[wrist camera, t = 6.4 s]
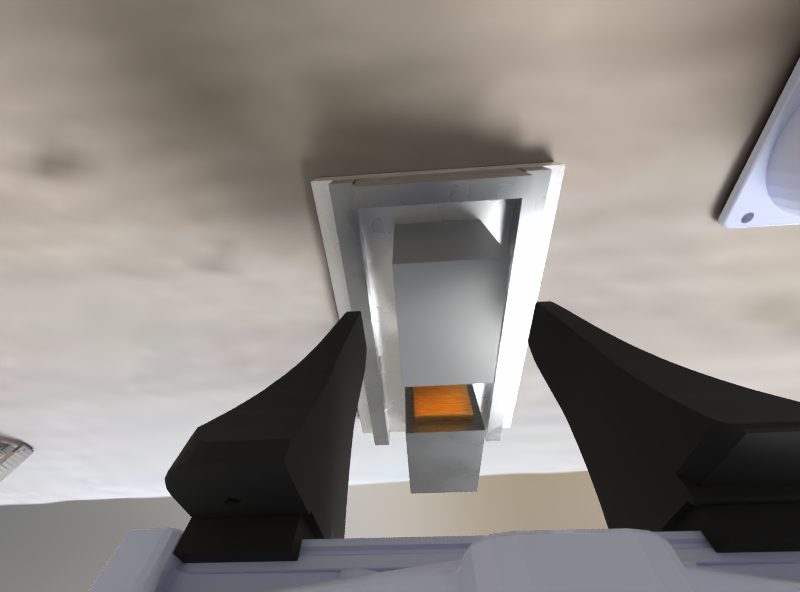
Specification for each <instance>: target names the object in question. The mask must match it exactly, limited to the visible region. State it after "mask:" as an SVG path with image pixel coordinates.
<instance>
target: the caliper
mask: <svg viewBox="0 0 800 592" xmlns="http://www.w3.org/2000/svg"><path fill="white" fill-rule="evenodd" d="M33 451H34V450H32V449H31V448H29V447H28V446H26V445H25V444H23V443H22V444H20V445H19V446H18V447H16V448H15V447H13V446H11V445H5V446H3V447H2V448H0V482H1V481H2V480H3V479H4V478H5V477H6V476H7V475H9V474H10V473H11V472H12V471H13V470H14V469H15V468H16V467H18V466H19V465H20V464H21V463H22V462H23V461H24V460H25V459H26V458H27V457H29V456H30V455H31V454H32V453H33Z"/></svg>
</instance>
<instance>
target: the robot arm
mask: <svg viewBox="0 0 800 592" xmlns="http://www.w3.org/2000/svg"><path fill="white" fill-rule="evenodd" d="M744 215H745V216H744ZM743 216H744V217H743ZM742 217H743V218H742ZM718 223H719V225H720V226H723V227H726V228H744V227H761V226H778V225H795V224H800V58H799V60H798V62H797V64H796V66H795V68H794V70H793V72H792V74H791V76H790V78H789V80H788V82H787V84H786V86H785V88H784V90H783V92H782V94H781V96H780V98H779V100H778V102H777V104H776V106H775V107H774V109H773V111H772V113H771V115H770V117H769V119H768V121H767V123H766V125H765V127H764V129H763V131H762V133H761V135H760V137H759V139H758V141H757V143H756V145H755V147H754V149H753V151H752V153H751V155H750V157H749V159H748V161H747V163H746V165H745V167H744V169H743V171H742V173H741V175H740V177H739V179H738V181H737V183H736V185H735V187H734V189H733V191H732V193H731V195H730V197H729V199H728V201H727V203H726V205H725V207H724V209H723V211H722V213H721V215H720V217H719V220H718ZM527 342H528V344H529V347H530V350H531V353H532V355H533V358H534V360H535V362H536V364H537V366H538V368H539V370H540V372H541V374H542V375H543V377H544V379H545V381H546V382H547V384H548V386H549V388H550V390H551V391H552V393H553V395H554V397H555V398H556V400H557V402H558V404H559V405H560V407H561V409H562V411H563V413H564V415H565V417H566V419H567V421H568V423H569V425H570V428H571V430H572V432H573V435H574V437H575V439H576V442H577V444H578V446H579V449H580V451H581V454H582V456H583V459H584V461H585V464H586V466H587V469H588V472H589V474H590V477H591V480H592V482H593V485H594V488H595V490H596V493H597V496H598V499H599V502H600V504H601V507H602V511H603V513H604V516H605V520H606V523H607V526H608V529H581V530H580V529H578V530H534V531H510V532H503V533H495V534H490V535H488V536H443V537H398V538H355V539H354V538H352V539H344V533H345V518H346V504H347V492H348V480H349V468H350V458H351V448H352V438H353V429H354V422H355V416H356V412H357V407H358V402H359V397H360V393H361V388H362V383H363V378H364V373H365V366H366V354H367V346H366V340H365V333H364V327H363V321H362V314H361V311H349V312H346V313H345V314H344V315H343V316H342V317H341V319H340V320H339V321H338V322H337V323H336V325H335V326H334V327H333V328H332V329H331V331H330V332H329V333H328V334H327V335H326V336H325V337H324V339H323V340H322V341H321V342H320V343H319V344H318V345H317V346H316V347H315V348H314V349H313V350H312V351H311V352H310V353H309V354H308V355H307V356H306V357H305V358H304V359H303V360H302V361H301V362H300V363H299V364H297V365H296V366H295V367H294V368H293V369H291V370H290V371H289V372H288V373H286V374H285V375H284V376H283V377H281V378H280V379H278V380H277V381H276V382H274V383H273V384H271V385H270V386H269V387H267V388H266V389H265V390H263V391H262V392H260V393H258V394H257V395H255V396H254V397H252V398H251V399H249V400H247V401H246V402H244V403H242V404H241V405H239V406H237V407H236V408H234V409H232V410H230V411H228V412H227V413H225V414H223V415H221V416H219V417H217V418H215V419H213V420H211V421H209V422H208V423H206V424H204V425H202V426H200V427H198V428H197V429H196V431H195V432H194V433H193V435H192V436H191V438H190V439H189V441H188V442H187V444H186V445H185V447H184V448H183V450H182V451H181V453H180V454H179V456H178V457H177V459H176V460H175V462H174V463H173V465H172V466H171V468H170V469H169V471H168V472H167V475H166V477H165V484H166V488H167V490H168V491H169V493H170V494H171V496H172V497H173V498H174V499H175V500H176V501H177V502H178V503H179V504H180V505H181V506H182V507H183V509H184V510H185V511H186V512H187V513H188V514H189V515H190V516H191V517H192V518H191V520H190V522H189V523H188V525H187V527H186V529H185V531H182V530H179V529H175V528H138V529H131V530H129V531H128V532H127V533H126V535H125V536H124V538H123V539H122V541H121V542H120V544H119V545H118V547H117V548H116V550H115V551H114V553H113V554H112V556H111V557H110V559H109V560H108V562H107V563H106V565H105V566H104V568H103V569H102V571H101V572H100V574H99V575H98V577H97V578H96V580H95V581H94V583H93V585H92V586H91V587H90V589H89V590H88V592H800V402H798V401H794V400H790V399H786V398H782V397H779V396H775V395H771V394H767V393H763V392H760V391H756V390H752V389H749V388H745V387H742V386H739V385H736V384H733V383H729V382H726V381H723V380H720V379H717V378H714V377H711V376H708V375H705V374H702V373H699V372H696V371H693V370H691V369H688V368H685V367H682V366H680V365H677V364H674V363H672V362H669V361H667V360H664V359H662V358H659V357H657V356H655V355H653V354H650V353H648V352H646V351H643V350H641V349H639V348H637V347H635V346H632V345H630V344H628V343H626V342H624V341H622V340H620V339H618V338H616V337H614V336H612V335H610V334H609V333H607V332H605V331H603V330H601V329H599V328H598V327H596V326H594V325H592V324H590V323H589V322H587V321H585V320H584V319H582V318H580V317H578V316H577V315H575V314H573V313H571V312H570V311H568V310H566V309H564V308H563V307H561V306H559V305H557V304H555V303H553V302H551V301H548V302H535V307H534V311H533V316H532V321H531V326H530V330H529V335H528V340H527Z"/></svg>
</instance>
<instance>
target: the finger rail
mask: <svg viewBox="0 0 800 592" xmlns="http://www.w3.org/2000/svg"><path fill="white" fill-rule="evenodd" d="M564 168H565V164H561V163H557V162H544V163H529V164H515V165H500V166H485V167H470V168H455V169H440V170H426V171H411V172H396V173H381V174H366V175H352V176H337V177H322V178H315V179H314V180H312V181H311V186H312V190H313V195H314V200H315V205H316V210H317V214H318V219H319V224H320V229H321V234H322V238H323V243H324V248H325V253H326V258H327V262H328V267H329V272H330V277H331V282H332V286H333V291H334V296H335V301H336V305H337V310H338V315H339V320H340V319H341V317H342V316H343V315H344V314H345V313H346V312H349V311H361V314H362V321H363V327H364V333H365V340H366V346H367V354H366V366H365V373H364V378H363V383H362V388H361V393H360V397H359V402H358V411H359V416H360V421H361V425H362V430H363V433H373V435H374V441H375V445H389V432H403V431H406V442H407V454H408V466H409V477H410V488H411V493H439V492H440V493H441V492H469V491H470V492H472V491H477V485H478V478H479V472H480V465H481V458H482V451H483V444H484V437H485V439H486V441H500V439H501V434H502V429H503V428H507V427H510V424H511V419H512V415H513V410H514V405H515V400H516V396H517V391H518V386H519V381H520V377H521V372H522V367H523V362H524V358H525V353H526V348H527V344H528V342H527V340H528V335H529V330H530V326H531V321H532V316H533V311H534V307H535V302H536V301H537V296H538V291H539V287H540V282H541V277H542V273H543V268H544V263H545V258H546V254H547V249H548V244H549V239H550V235H551V230H552V225H553V220H554V216H555V211H556V206H557V201H558V197H559V192H560V187H561V183H562V178H563V173H564ZM471 219H480V220H481V221H482V223H483V224H484V225H485V226H486V227H487V229H488V230H489V231H490V232H491V234H492V235H493V236H494V237H495V238H496V240H497V241H498V242H499V243H500V245H501V246H502V247H503V248H504V249H505V251H506V252H507V253H508V254H509V256H510V257H511V261H510V268H509V275H508V282H507V289H506V296H505V303H504V310H503V317H502V324H501V331H500V338H499V345H498V352H497V359H496V366H495V373H494V380H493V383H482V384H460V385H437V386H414V387H403V386H402V375H401V363H400V351H399V339H398V328H397V316H396V304H395V292H394V281H393V269H392V258H393V240H394V224H407V223H423V222H439V221H455V220H471Z"/></svg>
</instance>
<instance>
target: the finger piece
mask: <svg viewBox="0 0 800 592" xmlns="http://www.w3.org/2000/svg"><path fill="white" fill-rule="evenodd" d="M510 261H511V257H510V256H509V254H508V253H507V252H506V251H505V249H504V248H503V247H502V246H501V245H500V243H499V242H498V241H497V240H496V238H495V237H494V236H493V235H492V234H491V232H490V231H489V230H488V229H487V227H486V226H485V225H484V224H483V223H482V221H481V220H480V219H471V220H455V221H439V222H423V223H407V224H394V240H393V258H392V269H393V281H394V292H395V304H396V316H397V328H398V339H399V351H400V363H401V375H402V386H403V387H414V386H437V385H460V384H482V383H493V380H494V373H495V366H496V359H497V352H498V345H499V338H500V331H501V324H502V317H503V310H504V303H505V296H506V289H507V282H508V275H509V268H510Z"/></svg>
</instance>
